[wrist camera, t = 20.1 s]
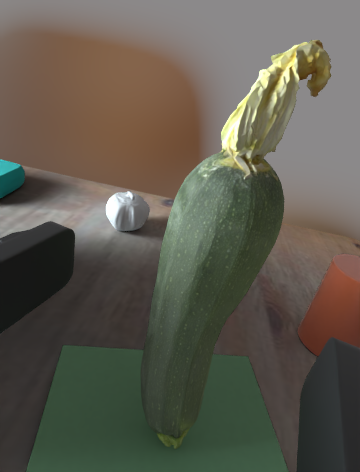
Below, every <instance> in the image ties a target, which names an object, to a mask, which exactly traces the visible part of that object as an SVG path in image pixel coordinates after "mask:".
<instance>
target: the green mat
mask: <svg viewBox="0 0 360 472" xmlns="http://www.w3.org/2000/svg"><path fill="white" fill-rule="evenodd" d="M143 352H144V350H136V349H120V348H104V347H88V346H72V345H63V346H62V350H61V353H60V357H59V360H58V364H57V367H56V370H55V374H54V377H53V381H52V384H51V388H50V391H49V394H48V398H47V401H46V405H45V408H44V412H43V415H42V419H41V422H40V425H39V429H38V432H37V436H36V439H35V443H34V446H33V449H32V453H31V456H30V460H29V463H28V467H27V470H26V472H289V471H288V468H287V465H286V463H285V460H284V457H283V454H282V451H281V448H280V446H279V443H278V440H277V437H276V434H275V431H274V428H273V426H272V423H271V420H270V417H269V414H268V411H267V409H266V406H265V403H264V400H263V397H262V394H261V392H260V389H259V386H258V383H257V380H256V377H255V375H254V372H253V369H252V366H251V363H250V360H249V357H248V356H233V355H217V354H213V355H212V360H211V365H210V369H209V374H208V379H207V383H206V386H205V389H204V395H203V400H202V404H201V409H200V412H199V415H198V418H197V420H196V422H195V423H194V425H193V426H192V427H191V428H190V429H189V431H188V433H187V435H186V436H185V437H184V438H183V440H182V444H181V446H180V447H179V448H177V449H174V445H171V446H170V447H167V446H165V444H164V443H163V442H162V441H161V440H160V439H159V437H158V435H157V433H155V432H154V431H153V430H151V428H150V427H149V425H148V423H147V421H146V418H145V414H144V410H143V406H142V398H141V374H140V373H141V363H142V356H143Z"/></svg>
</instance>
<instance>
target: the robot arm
mask: <svg viewBox="0 0 360 472" xmlns="http://www.w3.org/2000/svg"><path fill="white" fill-rule="evenodd" d="M74 247H75V234H74V231H73V230H72V229H69V228H67V227H64V226H62V225H59V224H57V223H55V222H51V221H50V222H46V223H44V224H42V225H39V226H37V227H35V228H33V229H30V230H26V231H21V232H16V233H12V234H10V235H7V236H5V237H3V238H0V333H2V332H3V331H5V330H6V329H7V328H9V327H10V326H11V325H13V324H14V323H15V322H17V321H18V320H20V319H21V318H22V317H24V316H25V315H26V314H28V313H29V312H31V311H32V310H33V309H35V308H36V307H37V306H39V305H40V304H41V303H43V302H44V301H46V300H47V299H48V298H50V297H51V296H52V295H54V294H55V293H57V292H58V291H59V290H61V289H62V288H63V287H64V286H65V285H66V284H67V283H68V282H69V280H70V278H71V276H72V274H73V267H74ZM296 472H360V348H358V347H356V346H353V345H351V344H349V343H346V342H344V341H341V340H339V339H336V338H334V337H331V338H330V339H329V340H328V341H327V343H326V344H325V346H324V348H323V349H322V351H321V353H320V355H319V356H318V358H317V360H316V361H315V363H314V365H313V367H312V368H311V370H310V372H309V373H308V375H307V377H306V379H305V382H304V385H303V388H302V392H301V398H300V415H299V434H298V452H297V471H296Z"/></svg>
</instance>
